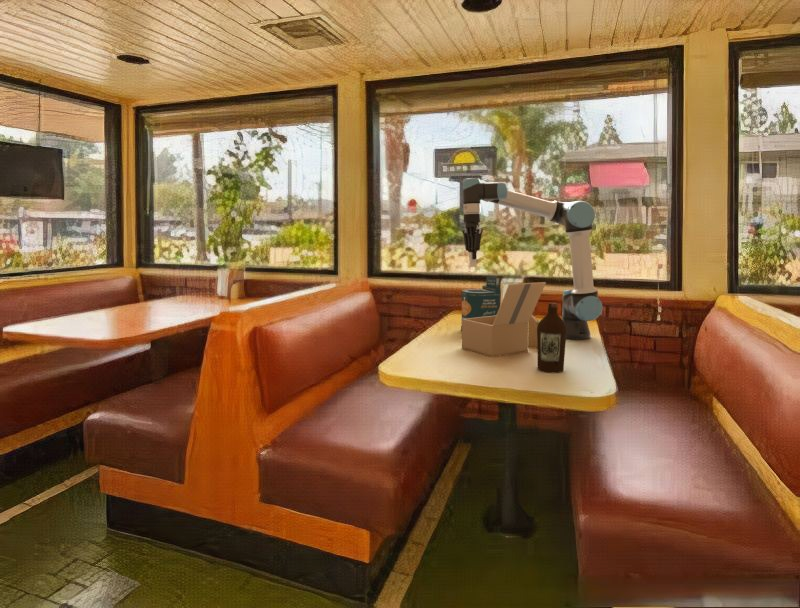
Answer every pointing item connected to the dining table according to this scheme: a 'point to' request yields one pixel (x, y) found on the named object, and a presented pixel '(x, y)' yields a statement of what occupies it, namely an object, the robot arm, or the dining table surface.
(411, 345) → the dining table surface
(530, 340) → the sandwich container
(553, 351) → the olive oil
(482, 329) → the carton
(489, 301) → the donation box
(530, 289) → the lid flap
